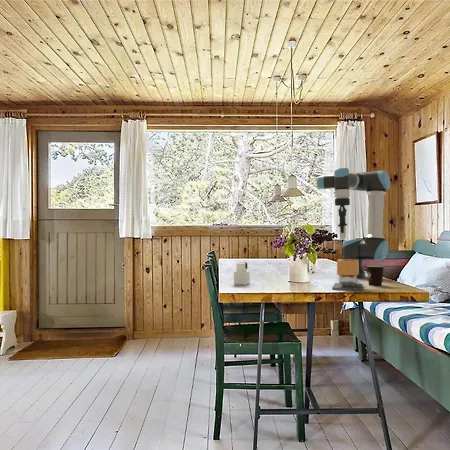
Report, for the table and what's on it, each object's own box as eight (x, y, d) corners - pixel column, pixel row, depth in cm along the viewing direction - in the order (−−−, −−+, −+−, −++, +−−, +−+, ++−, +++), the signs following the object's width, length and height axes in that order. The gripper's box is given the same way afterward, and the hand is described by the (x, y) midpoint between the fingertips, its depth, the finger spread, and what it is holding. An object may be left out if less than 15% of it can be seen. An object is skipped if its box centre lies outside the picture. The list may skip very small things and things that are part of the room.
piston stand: (335, 284, 233) (335, 262, 233) (362, 285, 229) (362, 262, 229) (332, 289, 216) (332, 265, 216) (361, 290, 212) (361, 266, 212)
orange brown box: (338, 272, 229) (338, 259, 229) (358, 273, 226) (358, 259, 226) (337, 274, 219) (337, 260, 219) (357, 275, 216) (357, 261, 216)
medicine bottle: (237, 283, 244) (237, 261, 244) (250, 283, 242) (249, 261, 242) (233, 284, 237) (233, 262, 237) (246, 285, 235) (246, 263, 235)
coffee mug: (385, 286, 226) (384, 267, 226) (367, 286, 228) (367, 266, 228) (381, 283, 237) (381, 265, 237) (365, 283, 239) (365, 264, 239)
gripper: (336, 198, 240) (336, 237, 241) (333, 197, 217) (334, 240, 217) (350, 198, 238) (351, 237, 239) (349, 196, 214) (349, 240, 215)
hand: (343, 238), depth 228 cm, fingers open, 13 cm apart
